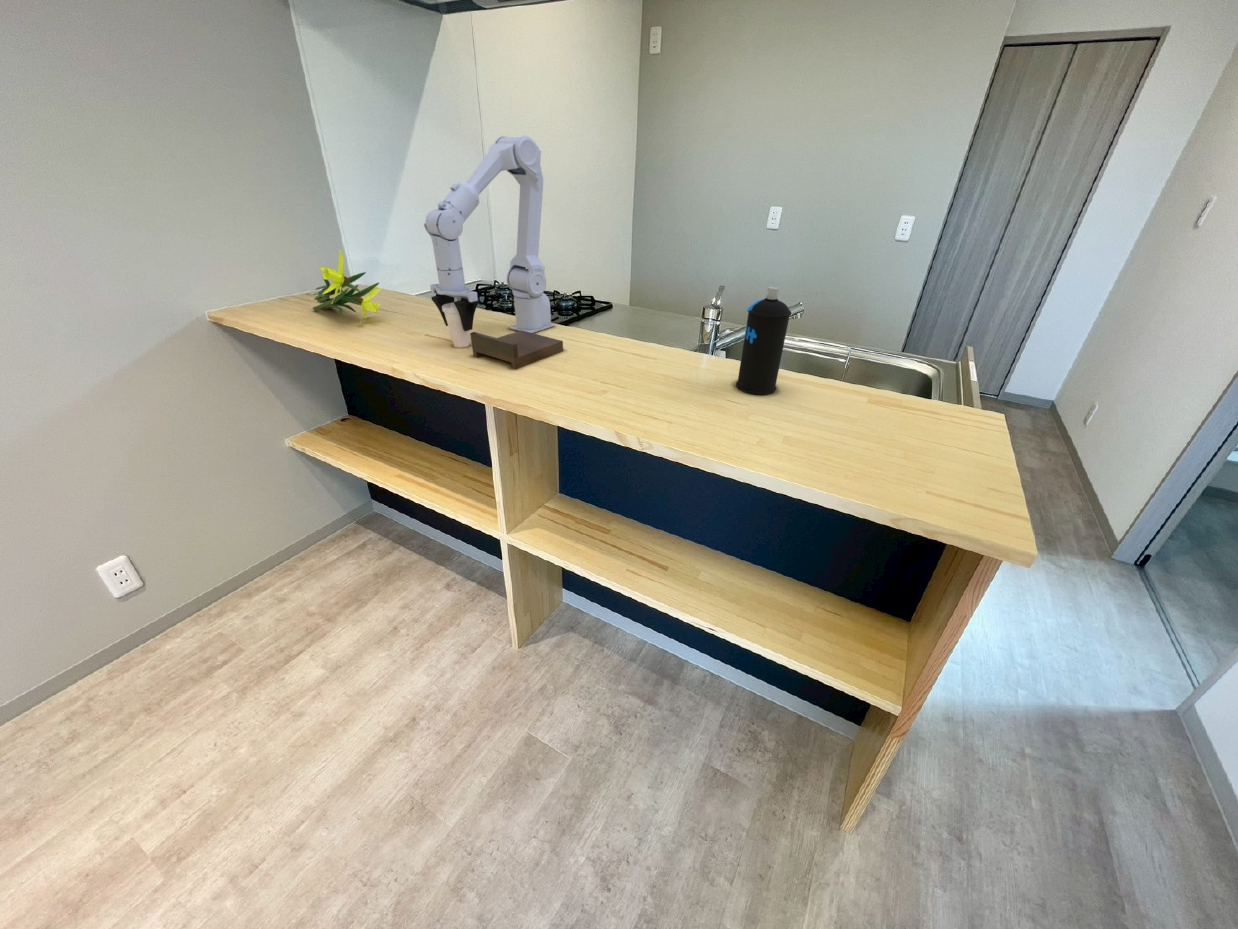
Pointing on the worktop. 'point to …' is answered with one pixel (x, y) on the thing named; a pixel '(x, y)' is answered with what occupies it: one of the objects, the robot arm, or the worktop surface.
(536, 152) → the robot arm
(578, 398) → the worktop surface
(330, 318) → the worktop surface
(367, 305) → the daffodil flowers
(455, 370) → the worktop surface
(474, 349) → the shelf
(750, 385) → the aerosol can
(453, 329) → the smoothie
